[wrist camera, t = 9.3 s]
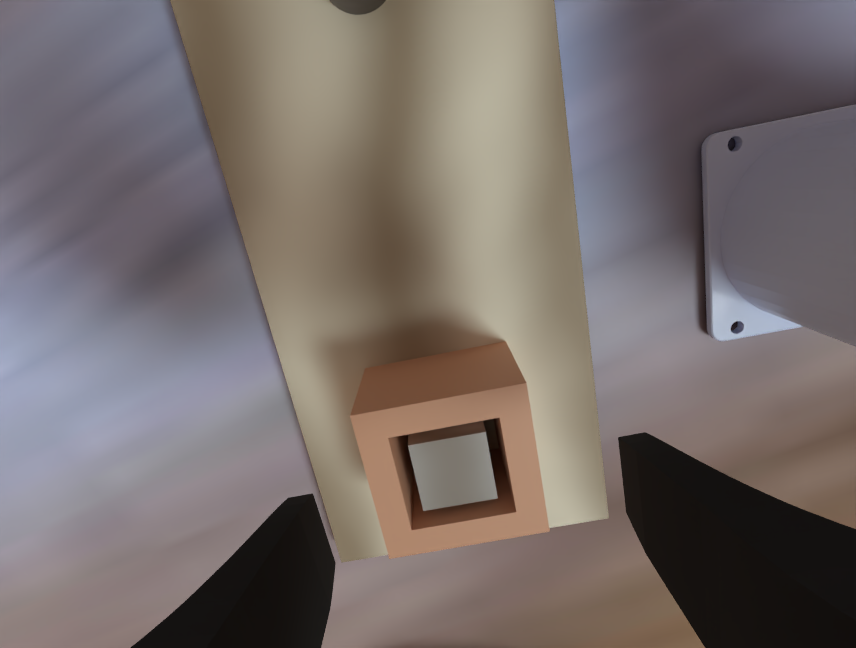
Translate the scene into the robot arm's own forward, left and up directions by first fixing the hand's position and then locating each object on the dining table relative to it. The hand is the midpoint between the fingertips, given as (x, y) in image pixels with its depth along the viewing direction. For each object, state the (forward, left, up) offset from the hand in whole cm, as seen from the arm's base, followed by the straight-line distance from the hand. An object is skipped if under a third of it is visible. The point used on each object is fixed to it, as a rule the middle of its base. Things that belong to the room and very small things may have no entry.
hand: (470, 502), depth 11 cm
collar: (+1, +2, -8) cm, 8 cm away
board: (+1, -6, -9) cm, 11 cm away
